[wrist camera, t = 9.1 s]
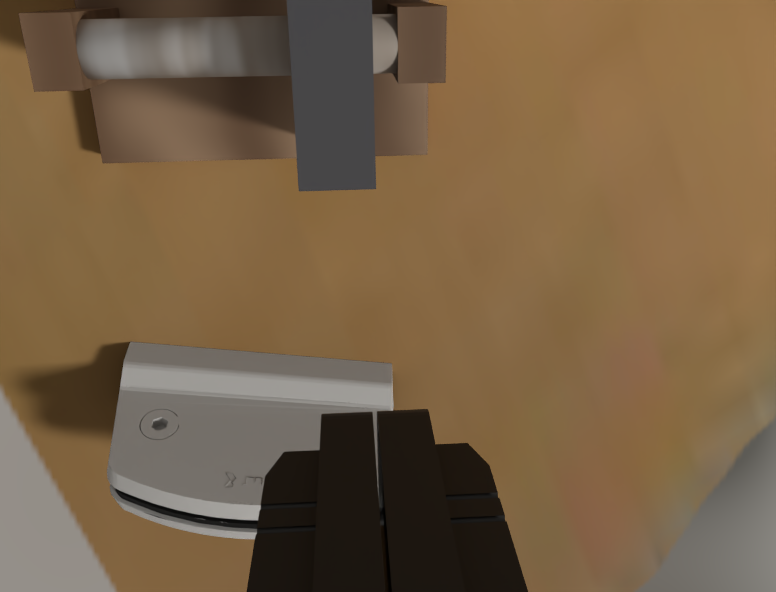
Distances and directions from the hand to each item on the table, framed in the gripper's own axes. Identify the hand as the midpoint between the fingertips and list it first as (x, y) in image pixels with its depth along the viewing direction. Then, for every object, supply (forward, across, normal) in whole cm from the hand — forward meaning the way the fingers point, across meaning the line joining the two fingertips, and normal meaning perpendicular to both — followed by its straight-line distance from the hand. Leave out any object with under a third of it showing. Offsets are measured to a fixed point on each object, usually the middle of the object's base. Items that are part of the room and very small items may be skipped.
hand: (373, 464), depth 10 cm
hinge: (+31, +6, +18) cm, 37 cm away
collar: (+29, +1, -4) cm, 29 cm away
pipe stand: (+31, +4, -4) cm, 32 cm away
